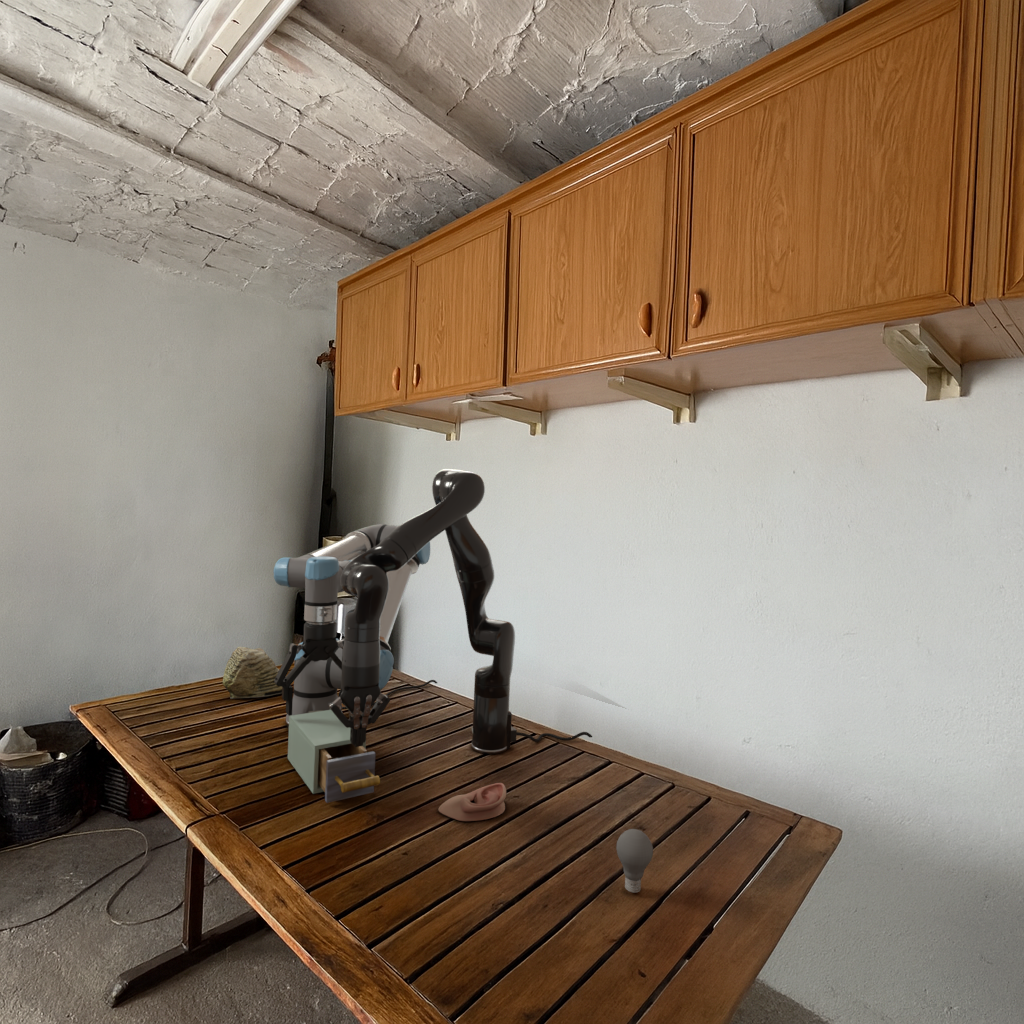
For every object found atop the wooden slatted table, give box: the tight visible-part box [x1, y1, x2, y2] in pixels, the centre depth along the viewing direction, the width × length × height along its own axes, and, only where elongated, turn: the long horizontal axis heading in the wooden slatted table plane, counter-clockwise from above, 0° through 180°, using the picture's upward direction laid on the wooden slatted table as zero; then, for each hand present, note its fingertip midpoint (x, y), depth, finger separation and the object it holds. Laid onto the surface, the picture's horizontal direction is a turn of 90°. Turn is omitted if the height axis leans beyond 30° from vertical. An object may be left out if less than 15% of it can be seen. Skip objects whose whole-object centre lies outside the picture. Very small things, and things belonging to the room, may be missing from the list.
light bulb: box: [615, 828, 654, 894], centre depth 106 cm, size 6×6×10 cm
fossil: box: [222, 646, 282, 699], centre depth 198 cm, size 9×18×15 cm, turn 132°
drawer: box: [318, 743, 381, 804], centre depth 138 cm, size 26×10×8 cm, turn 34°
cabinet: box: [287, 710, 367, 795], centre depth 147 cm, size 21×11×10 cm, turn 34°
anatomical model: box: [438, 782, 507, 822], centre depth 131 cm, size 13×4×12 cm
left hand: (317, 709), depth 152 cm, fingers open, 13 cm apart
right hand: (357, 745), depth 129 cm, fingers closed
